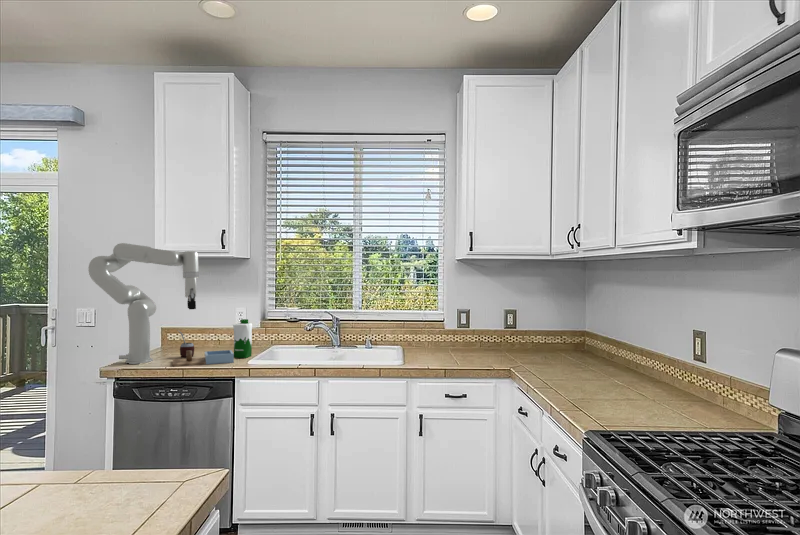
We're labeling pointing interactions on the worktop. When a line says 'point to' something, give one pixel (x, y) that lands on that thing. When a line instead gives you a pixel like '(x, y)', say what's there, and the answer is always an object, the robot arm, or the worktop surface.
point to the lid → (189, 360)
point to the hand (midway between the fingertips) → (191, 308)
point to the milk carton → (243, 339)
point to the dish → (219, 357)
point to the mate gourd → (186, 348)
